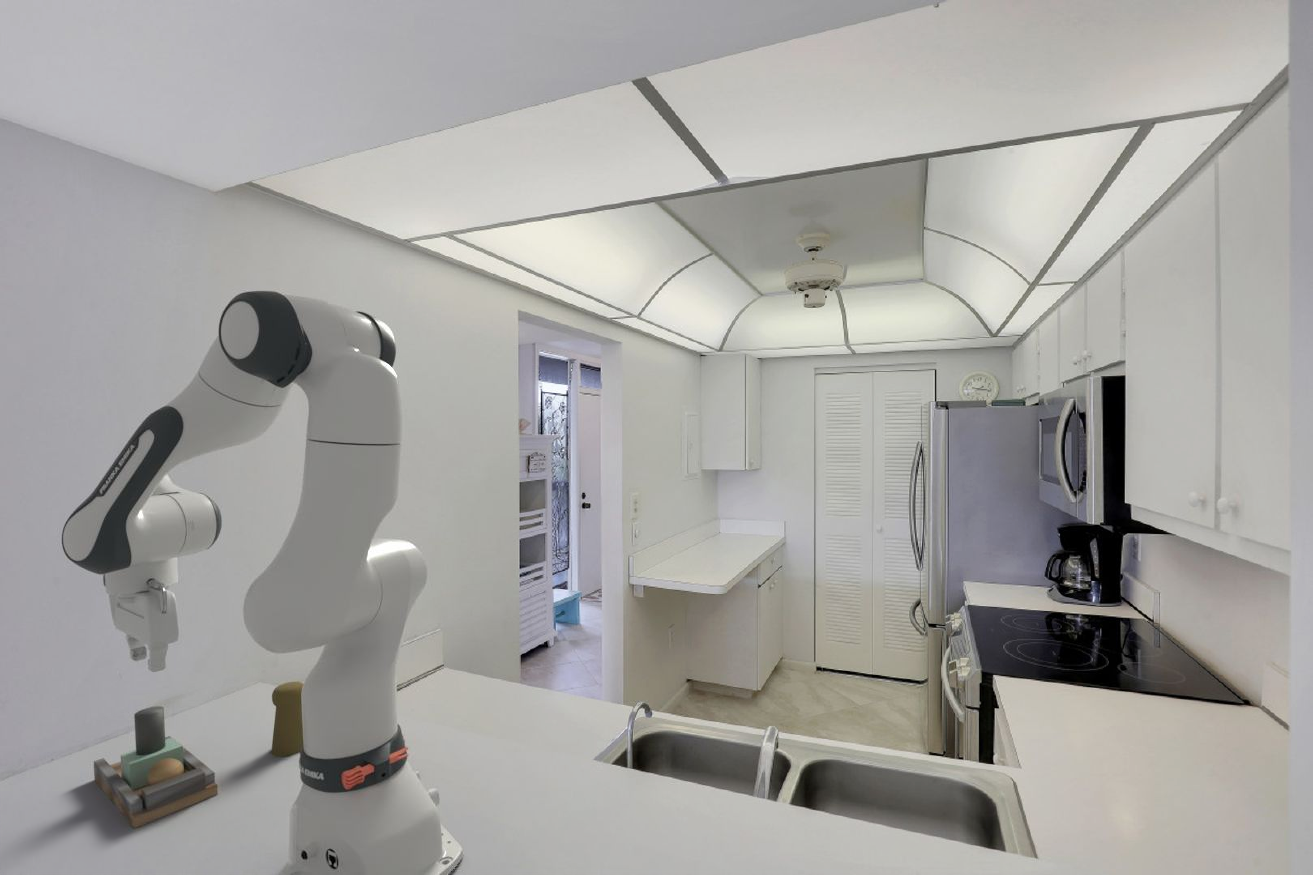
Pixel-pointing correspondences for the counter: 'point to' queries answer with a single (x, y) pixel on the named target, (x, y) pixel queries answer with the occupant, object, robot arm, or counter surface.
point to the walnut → (164, 771)
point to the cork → (287, 719)
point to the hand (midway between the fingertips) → (147, 664)
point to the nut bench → (159, 811)
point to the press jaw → (148, 747)
